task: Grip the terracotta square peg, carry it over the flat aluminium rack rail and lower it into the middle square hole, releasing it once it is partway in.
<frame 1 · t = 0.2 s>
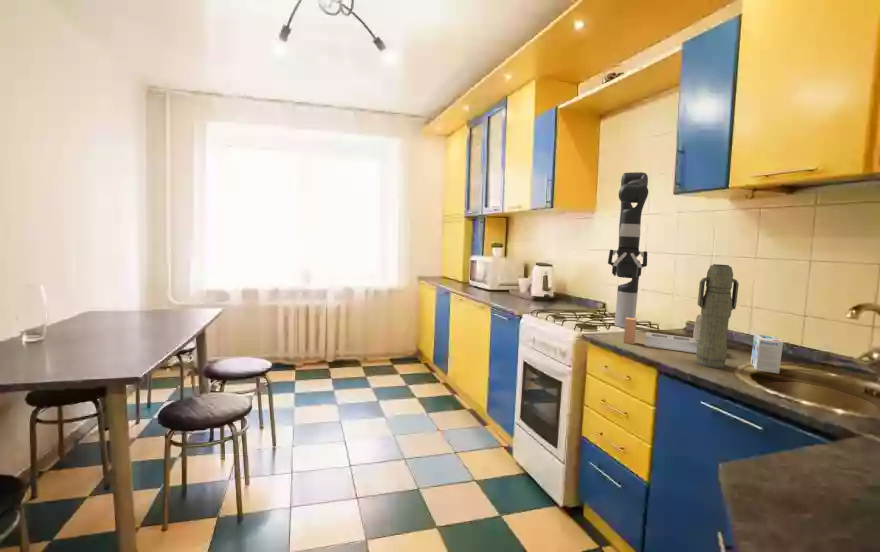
hand: (625, 276, 176), 28 cm above the worktop, tool pointing down, fingers open, 8 cm apart
rack rail: (680, 348, 177), on the worktop
thermos: (709, 365, 154), on the worktop
square peg: (629, 342, 183), on the worktop
light bulb box: (764, 368, 153), on the worktop
carving: (702, 343, 189), on the worktop
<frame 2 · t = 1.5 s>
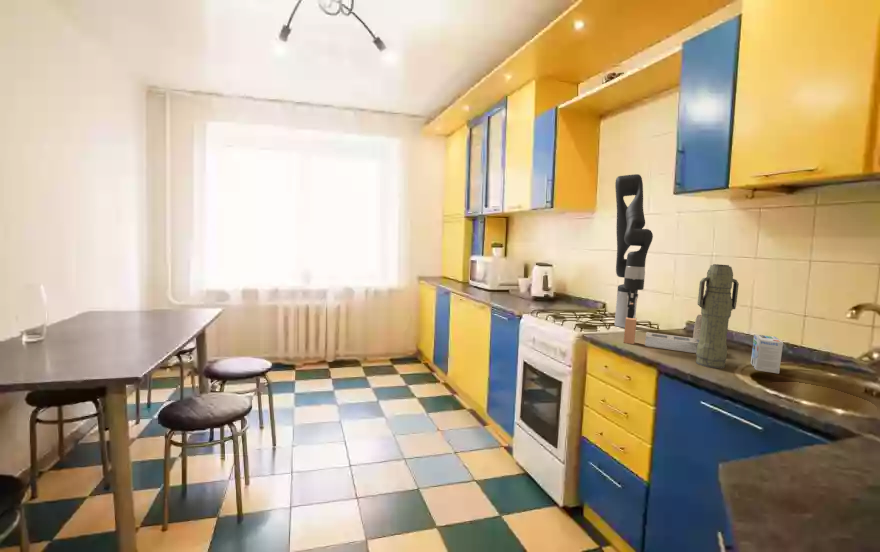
hand: (630, 316, 182), 11 cm above the worktop, tool pointing down, fingers open, 8 cm apart
nothing on the worktop moved.
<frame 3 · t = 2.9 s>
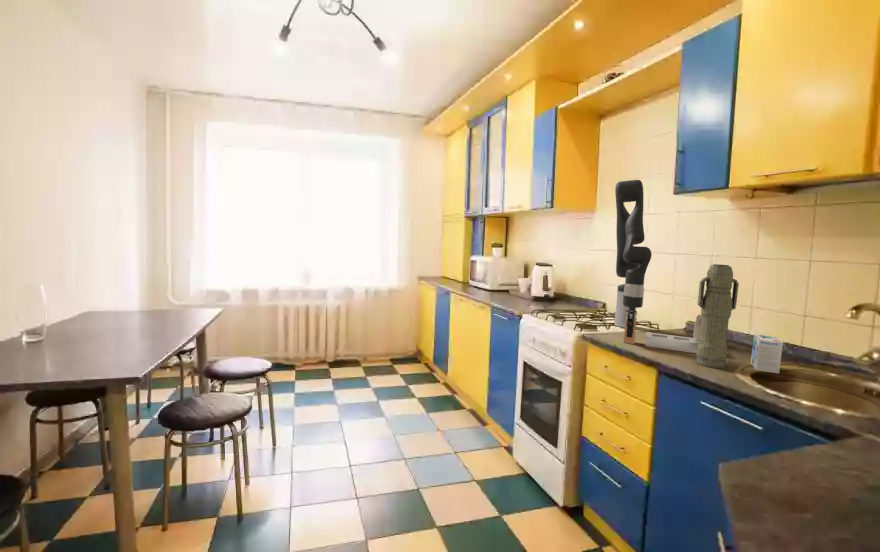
hand: (629, 335, 183), 3 cm above the worktop, tool pointing down, fingers closed on square peg, 4 cm apart
square peg: (629, 342, 183), on the worktop, touching gripper
everything else where it was.
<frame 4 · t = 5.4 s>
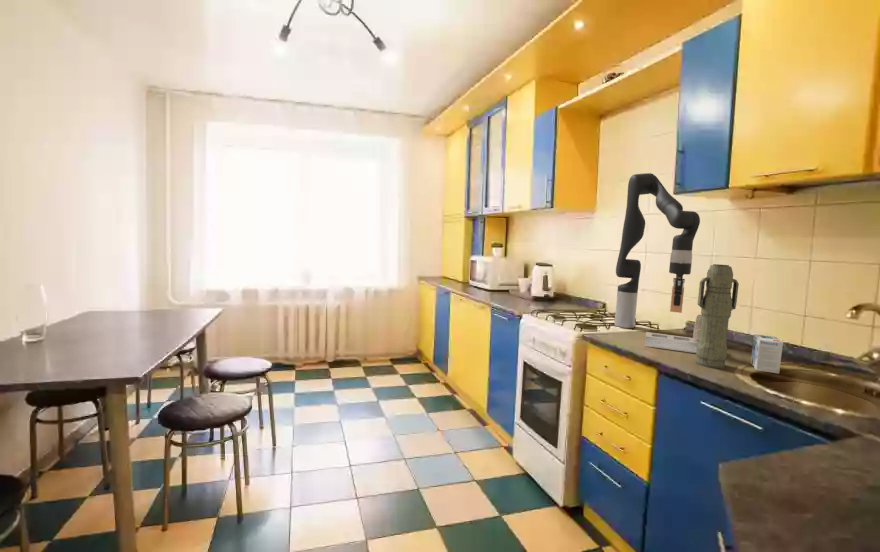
hand: (676, 304, 176), 18 cm above the worktop, tool pointing down, fingers closed on square peg, 4 cm apart
square peg: (675, 311, 176), point 15 cm above the worktop, touching gripper
everything else where it was.
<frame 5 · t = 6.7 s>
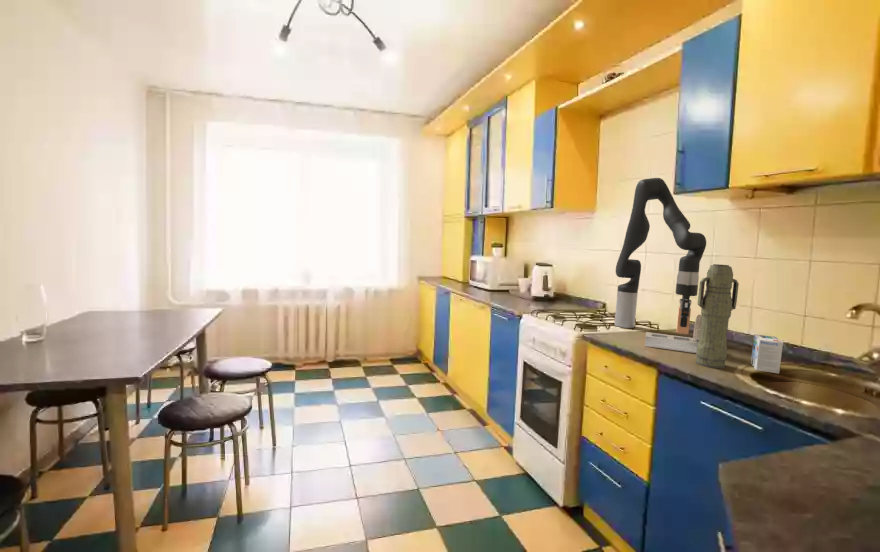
hand: (682, 325, 176), 9 cm above the worktop, tool pointing down, fingers closed on square peg, 4 cm apart
square peg: (682, 332, 176), point 7 cm above the worktop, touching gripper
everything else where it was.
when the fingers open (6 cm above the worktop, at t = 7.8 s): square peg drops 3 cm, resting in rack rail.
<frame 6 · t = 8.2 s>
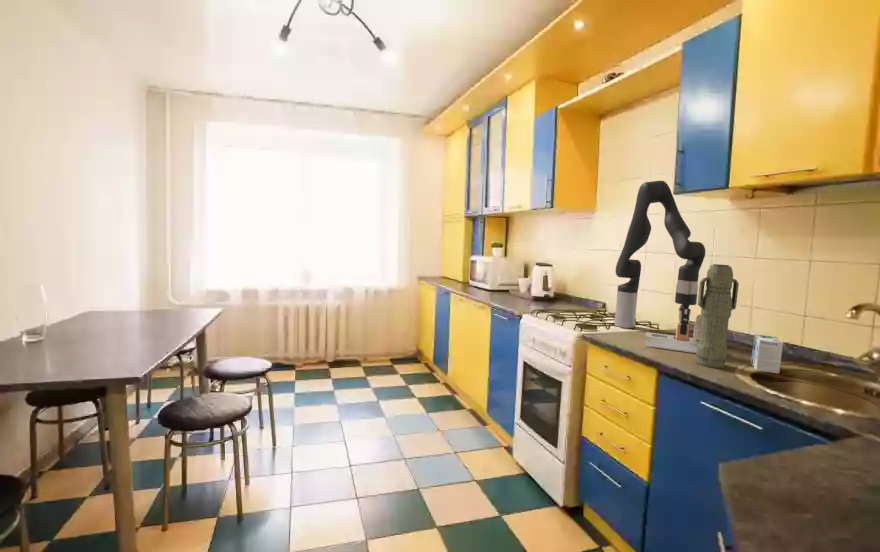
hand: (682, 332, 176), 6 cm above the worktop, tool pointing down, fingers open, 7 cm apart
square peg: (680, 348, 177), resting in rack rail
everything else where it was.
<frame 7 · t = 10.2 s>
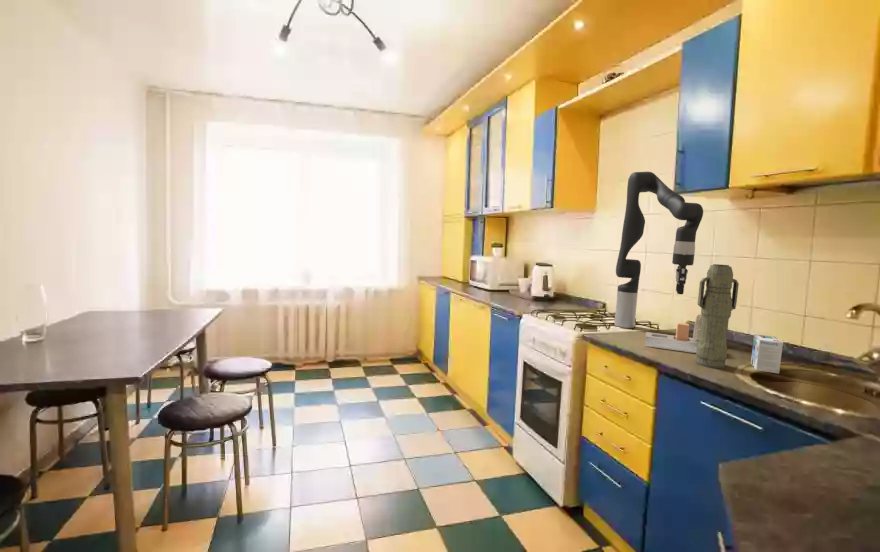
hand: (679, 292, 179), 22 cm above the worktop, tool pointing down, fingers open, 8 cm apart
nothing on the worktop moved.
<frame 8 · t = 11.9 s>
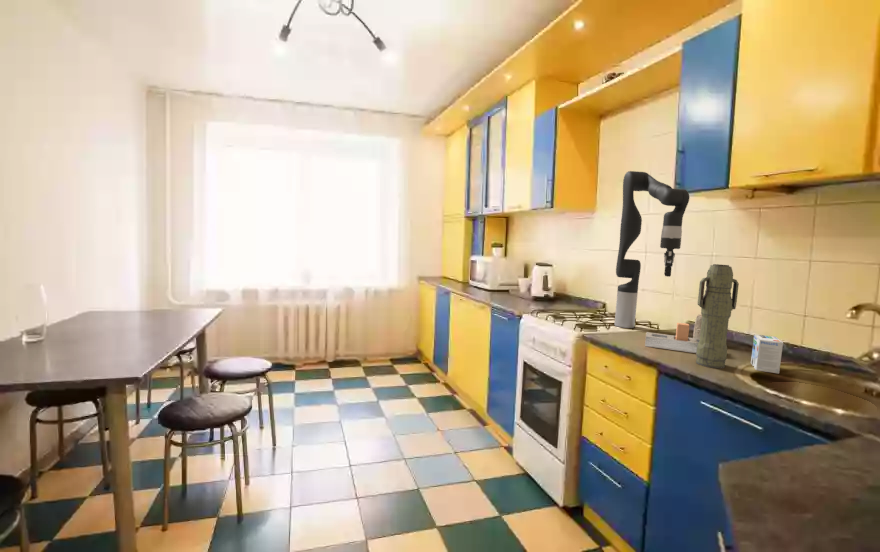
hand: (667, 275, 186), 28 cm above the worktop, tool pointing down, fingers open, 8 cm apart
nothing on the worktop moved.
at the end: square peg 0.0 cm off-centre on the rack rail, point 0.0 cm above the rack rail's base; square peg tilted 0°; the gripper is holding nothing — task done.
